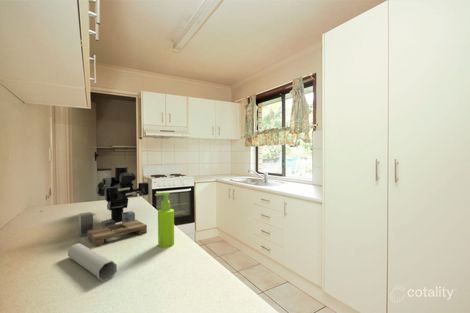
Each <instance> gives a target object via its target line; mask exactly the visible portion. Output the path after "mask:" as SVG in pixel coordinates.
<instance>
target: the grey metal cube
mask: <svg viewBox="0 0 470 313" xmlns="http://www.w3.org/2000/svg"><path fill="white" fill-rule="evenodd" d="M109 219H110V220H109ZM109 219H106V220H101V227H106V226H110V225H115V224H116V222H115V221H114V220H113V219H111V218H109Z"/></svg>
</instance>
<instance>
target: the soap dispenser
mask: <svg viewBox="0 0 470 313" xmlns="http://www.w3.org/2000/svg"><path fill="white" fill-rule="evenodd" d="M154 195H155V197H158V196H163V200H161V201H160V203H161V204H160V205H161V206H160V207H161V208H160V209H159V210H157V237H158V238H157V239H158V240H157V242H158V243H157V244H158V247H159V248H170V247H173V246H174V245H175V209H173V208H171V201H170V200H169V196H170V195H171V194H170V192H168V191H167V192H166V191H165V192H158V193H155V194H154Z"/></svg>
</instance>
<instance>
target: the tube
mask: <svg viewBox="0 0 470 313" xmlns="http://www.w3.org/2000/svg"><path fill="white" fill-rule="evenodd" d="M67 257H69V258H70V259H72V261H74V262H76V263H77V264H78V265H80V266H81V267H83V268H84V269H86V270H87V271H89V272H90V273H91V274H93V275H94V276H95V277H97V279H98V280H100V281H101V282H105V281H108V280H110V279H112V278H113V277H114V276H115V275H116V274H117V273H118V264H117V263H116V262H114V261H113V260H112V259H108V258H107V257H105V256H103V255H101V254H99V253H97V252H96V251H94V250H93V249H91V248H89V247H87V246H86V245H84V244H82V243H80V242H79V243H75V244H72V245H71V246H70V247H69V248H68V249H67Z"/></svg>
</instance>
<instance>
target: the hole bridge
mask: <svg viewBox="0 0 470 313" xmlns="http://www.w3.org/2000/svg"><path fill="white" fill-rule="evenodd" d="M147 226H148V225H147V224H146V223H143V222H141V221H139V220H137V219H135V220H133V221H129V222H124V223H122V222H120V223H117V224H116V223H115V225H110V226H106V227H102V226H101V227H98V228H93V229H92V230H87V236H86V237H87V240H88V241H89V242H90V243H91V244H92V245H93V246H94V247H99V246H103V245H105V239H109V238H113V237H118V236H122V235H126V234H130V233H137V234H138V235H144V234H147V233H148V230H147V229H148V228H147Z"/></svg>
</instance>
